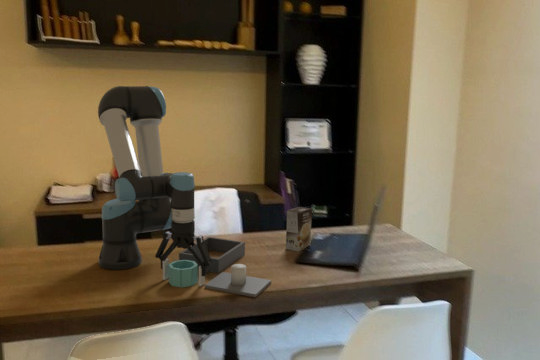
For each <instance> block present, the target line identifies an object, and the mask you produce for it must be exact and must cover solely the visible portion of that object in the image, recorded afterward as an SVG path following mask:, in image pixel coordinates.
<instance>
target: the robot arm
mask: <svg viewBox="0 0 540 360" xmlns="http://www.w3.org/2000/svg"><path fill="white" fill-rule="evenodd" d="M166 113H167V103H166V98H165V96H164V94H163V91H162V90H161V89H160V88H159V87H156V86H148V85H145V86H144V85H143V86H141V85H140V86H138V85H136V86H135V85H134V86H129V85H128V86H124V85H117V86H115V87H112V88H110V89H108V90H107V91H106V92H105V93H104V94H103V95H102V96H101V99H100V101H99V103H98V106H97V115H98V120H99V122H100V124H101V125H102V126H103V127H104V130H105V133H106V136H107V140H108V144H109V147H110V151H111V154H112V157H113V161H114V164H115V167H116V171H117V175H118V178H117V179H115V181H114V190H115V191H114V192H115V193H114V194H115V197H116V198H114V199H111V200H108V201H106V202H105V203H104V204H103V205H102V207H101V224H102V225H101V227H102V246H101V248H100V249H101V250H100V252H99V256H98V266H99V267H100V268H103V269H104V270H105V269H106V270H112V271H113V270H114V271H115V270H116V271H117V270H121V271H122V270H129V269H131V268H135V267H138V266H139V265H141V263H142V262H143V258H142V257H143V256H142V253H141V251H140V248H139V245H138V242H137V234H141V233H149V232H156V231H157V232H159V231H164V230H169V229H171V231H165V232H163V235H162V240H161V242H160V245H159V247H158V249H157V251H156V253H155V255H154V257H155V259H159V260H160V269H161V270H162V280H163V281H166V280H167V279H169V264H170V259H169V258H168V257H169V256H170V255H171V253H172V252H173V251H174V250H175V249H176V248H179V249H184V250H185V249H188V250H189V251H191V253H192V254H193V256H194V257H195V258H196V260H197V261H198V263H199V264H200V267H199V270H198V287H202V286H205V285H206V284H205V283H206V276H207V275H208V271H207V266H209V265H211V264H212V263H213V262H212V260H211V257H212V256H211V255H210V253H209V250H208V251H207V248H206V246H205V244H204V239H205V238H204V236H203V235H199V236H195V235H196V234H195V231H196V230H195V226H196V225H195V219H196V218H195V186H196V185H195V177H194V174H193V173H191V172H186V171H183V172H182V171H181V172H180V171H177V172H174V173H172V172H164V166H163V158H162V146H161V139H160V130H159V129H160V127H159V126H160V124H161V123H162V122H163V118H164V117H166ZM127 119H129V122H130V125H131V126H132V127H133V128H134V129H135V139H136V149H137V153H136V149H135V146H134V144H133V140H132V136H131V134H130V130H129V128H128V124H127ZM170 239H171V240H172V243H171V244H170V245H169V247H167V246H168V243H169V242H170ZM196 243H197V246H198V248H199V250H198V249H197V246H196ZM191 246H192V247H191ZM166 248H167V249H166Z"/></svg>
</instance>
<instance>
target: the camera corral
mask: <svg viewBox="0 0 540 360" xmlns="http://www.w3.org/2000/svg"><path fill="white" fill-rule="evenodd" d="M203 239H204V244H205V246H206V248H207V251H208V252H209V251H214V252H220V253H224V254H222V255H220V256H218V257H212V256H210V257H211V260H212V262H213V263H212V264H211V265H209V266H207V272H210V273H214V274H215V273H216V274H219V273H220V274H221V273H222V272H223V271H224V270H225V269H227V268H228V267H229V266H232V265H233V264H234V263H235V262H236V261H238V260H239V259H240V258H242V257H244V256H245V255H246V241H240V240H233V239H228V238H226V239H225V238H220V237H214V236H213V237H212V236H207V237H205V238H203ZM195 244H196V246H197V243H196V242H195ZM191 247H192V245H191ZM197 249H198V250H199V248H198V246H197ZM179 260H190V261H194V262H196V263H197V265H198V271H199V267H200V264H199V263H198V261H197V260H196V258H195V257H194V256H193V254H192V253H191V251H189V250H188V249H184V250H182V251H180V252H179V253H178V261H179Z"/></svg>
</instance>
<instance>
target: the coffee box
mask: <svg viewBox="0 0 540 360" xmlns="http://www.w3.org/2000/svg"><path fill="white" fill-rule="evenodd" d="M312 214H313V209H312V208H309V207H303V206H297V207H294V208H291V209H287V211H286V229H285V230H286V233H285V235H286V236H285V237H286V238H285V249H286V250H289V251H293V252H301V251H303V250H305V249H304V248H306V247H307V246H308V245H310V246H311V238H312V232H311V231H312ZM306 249H307V248H306Z"/></svg>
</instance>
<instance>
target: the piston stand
mask: <svg viewBox="0 0 540 360" xmlns="http://www.w3.org/2000/svg"><path fill="white" fill-rule="evenodd" d="M271 284H272V280H271V279H267V278H260V277H254V276H250V275H247V265H245V264H242V263H235V264H231V265H230V272H228V271H227V272H226V271H221V272H220V274H219V273H218V275H217V276H215V277H214V278H212V279H211V280H209V281H208V282H207V283H206V284H204V288H205V289H209V290H213V291H221V292H226V293H232V294H236V295H241V296H246V297H250V298H251V297H252V298H257V297H258V296H259V295H260V294H261V293H263V291H264V290H265V289H266V288H267V287H269V285H271Z"/></svg>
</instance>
